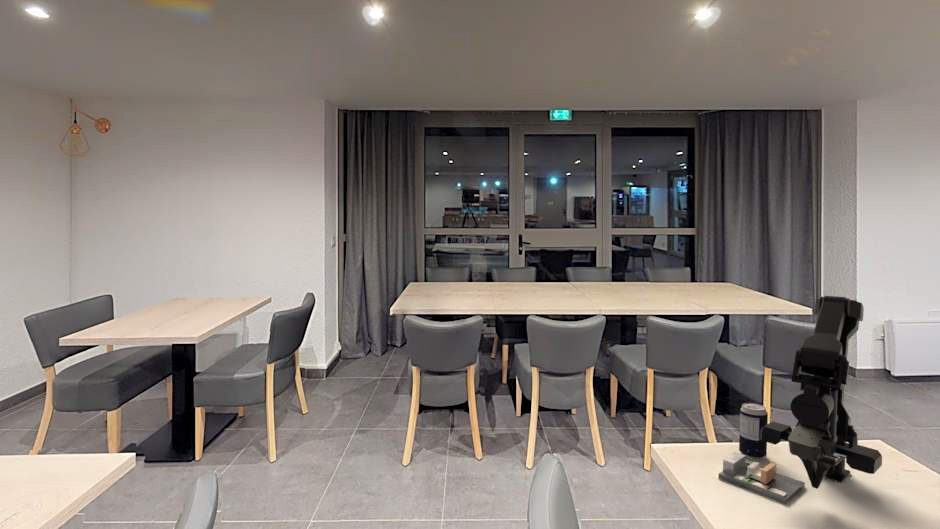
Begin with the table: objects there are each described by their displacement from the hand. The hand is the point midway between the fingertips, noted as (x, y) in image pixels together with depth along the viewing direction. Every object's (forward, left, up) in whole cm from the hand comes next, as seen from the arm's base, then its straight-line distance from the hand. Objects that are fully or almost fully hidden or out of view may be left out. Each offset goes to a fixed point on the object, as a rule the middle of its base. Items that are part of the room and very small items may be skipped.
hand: (815, 487), depth 95 cm
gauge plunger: (+1, -10, -2) cm, 10 cm away
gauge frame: (0, -10, -3) cm, 10 cm away
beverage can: (-12, -16, -3) cm, 21 cm away
